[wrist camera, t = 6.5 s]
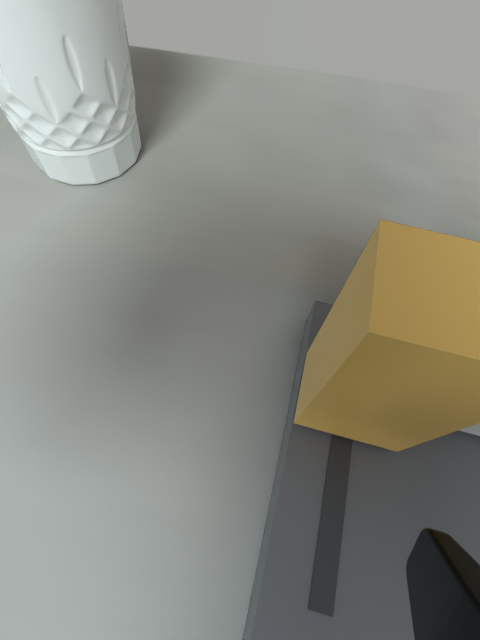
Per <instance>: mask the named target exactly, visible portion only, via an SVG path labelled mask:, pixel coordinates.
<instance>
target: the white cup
mask: <svg viewBox="0 0 480 640" xmlns="http://www.w3.org/2000/svg"><path fill="white" fill-rule="evenodd" d="M135 100H136V97H135V89H134V82H133V76H132V65H131V58H130V51H129V45H128V38H127V32H126V25H125V19H124V12H123V6H122V0H0V106H1V108H2V110H3V112H4V114H5V116H6V117H7V119H8V120H9V122H10V123H11V125H12V126H13V128H14V129H15V130H16V132H17V133H18V134H19V136H20V137H21V139H22V141H23V143H24V144H25V146H26V148H27V150H28V151H29V153H30V155H31V157H32V158H33V160H34V162H35V164H36V165H37V166H38V167H39V168H40V169H41V170H42V171H43V172H44V173H45V174H46V175H47V176H48V177H50V178H51V179H55V180H58V181H61V182H64V183H67V184H71V185H86V184H99V183H102V182H104V181H107V180H110V179H113V178H116V177H118V176H120V175H122V174H123V173H124V172H125V171H126V170H128V169H129V168H130V167H131V166H132V165H133V164H135V162H136V160H137V157H138V155H139V152H140V149H141V140H140V134H139V128H138V122H137V115H136V110H135Z"/></svg>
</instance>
